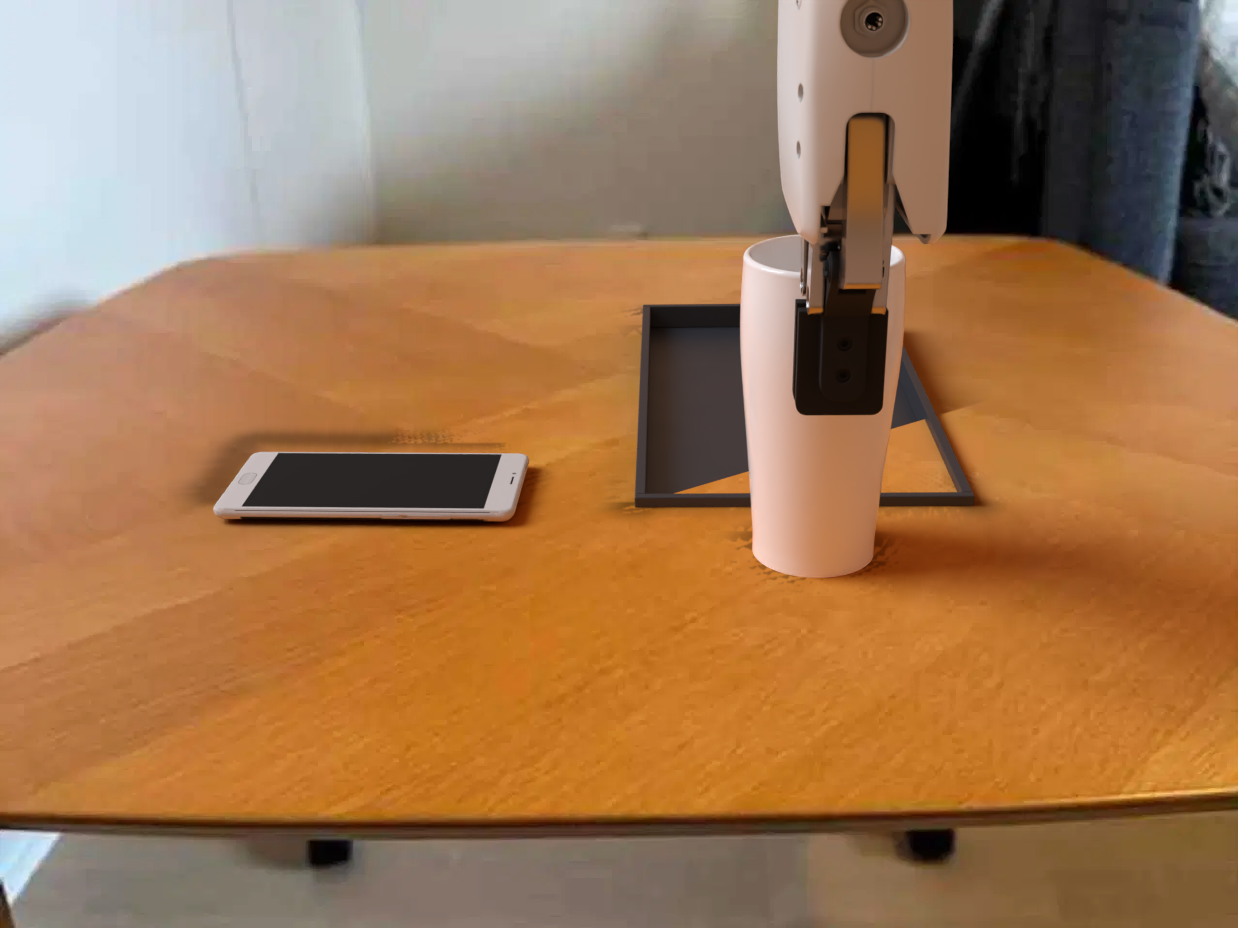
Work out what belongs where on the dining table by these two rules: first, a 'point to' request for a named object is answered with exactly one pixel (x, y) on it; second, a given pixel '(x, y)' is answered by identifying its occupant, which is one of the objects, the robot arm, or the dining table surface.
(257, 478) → the smartphone
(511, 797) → the dining table surface
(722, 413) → the tray
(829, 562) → the drinking glass
